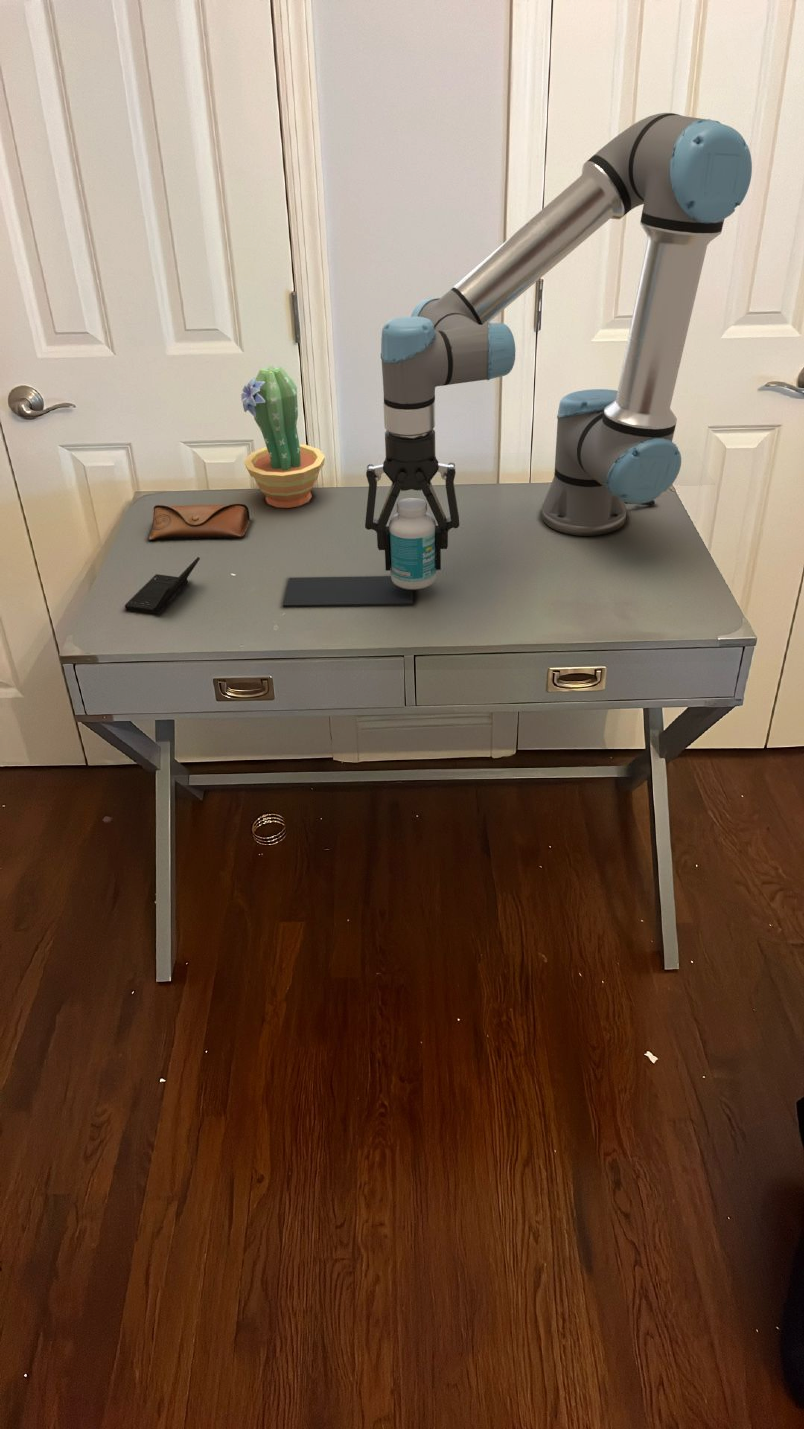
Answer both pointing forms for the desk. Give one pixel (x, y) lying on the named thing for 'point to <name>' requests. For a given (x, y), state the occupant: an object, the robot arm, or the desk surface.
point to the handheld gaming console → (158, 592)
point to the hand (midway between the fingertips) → (413, 566)
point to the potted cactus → (280, 441)
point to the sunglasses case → (199, 521)
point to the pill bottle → (412, 545)
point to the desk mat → (345, 592)
